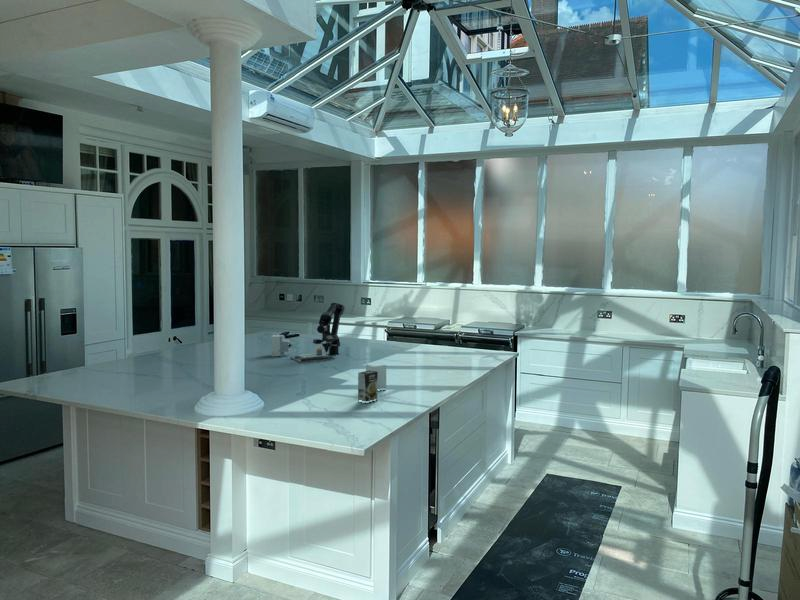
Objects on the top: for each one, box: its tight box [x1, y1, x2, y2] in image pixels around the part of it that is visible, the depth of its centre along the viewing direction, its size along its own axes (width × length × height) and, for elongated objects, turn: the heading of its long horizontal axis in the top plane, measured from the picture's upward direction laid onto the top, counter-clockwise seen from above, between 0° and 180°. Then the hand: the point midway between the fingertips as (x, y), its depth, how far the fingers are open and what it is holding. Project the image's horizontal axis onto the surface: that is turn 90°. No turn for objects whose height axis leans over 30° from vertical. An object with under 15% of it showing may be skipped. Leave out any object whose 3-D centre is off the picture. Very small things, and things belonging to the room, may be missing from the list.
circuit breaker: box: [270, 334, 293, 357], centre depth 471 cm, size 8×14×15 cm, turn 89°
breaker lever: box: [315, 347, 323, 355], centre depth 460 cm, size 3×3×6 cm
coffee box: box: [357, 370, 379, 401], centre depth 339 cm, size 9×6×16 cm
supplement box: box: [365, 362, 387, 389], centre depth 365 cm, size 9×9×15 cm
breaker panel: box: [290, 352, 336, 364], centre depth 458 cm, size 26×20×3 cm
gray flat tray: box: [293, 355, 332, 361], centre depth 458 cm, size 23×14×1 cm, turn 120°
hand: (326, 352), depth 463 cm, fingers closed
